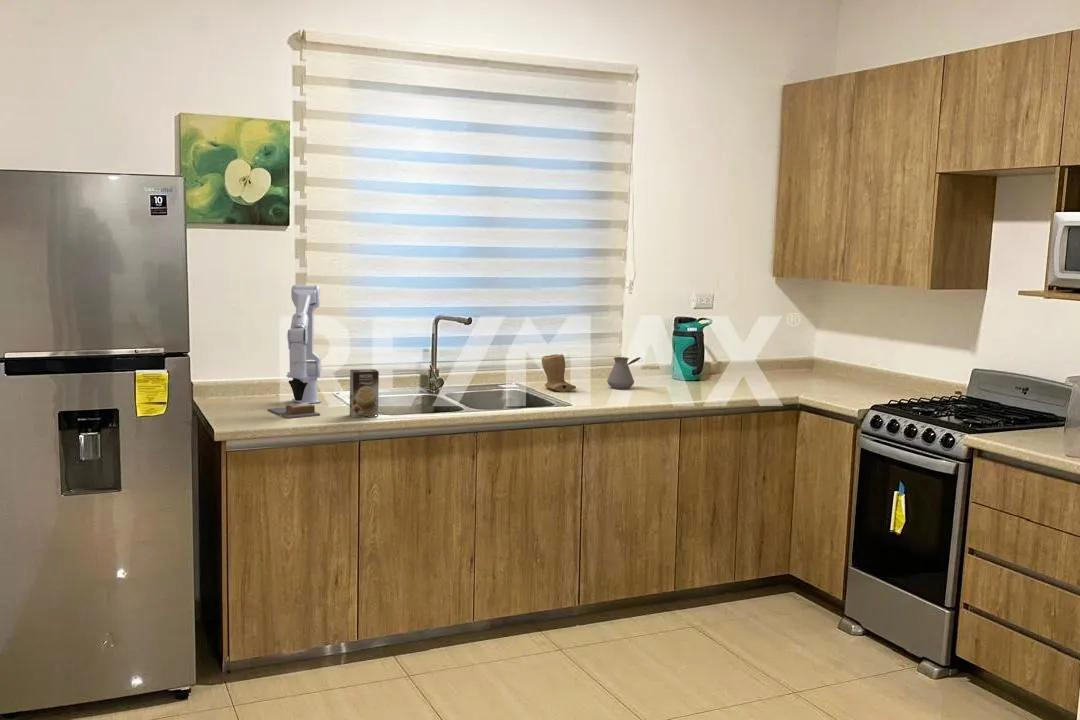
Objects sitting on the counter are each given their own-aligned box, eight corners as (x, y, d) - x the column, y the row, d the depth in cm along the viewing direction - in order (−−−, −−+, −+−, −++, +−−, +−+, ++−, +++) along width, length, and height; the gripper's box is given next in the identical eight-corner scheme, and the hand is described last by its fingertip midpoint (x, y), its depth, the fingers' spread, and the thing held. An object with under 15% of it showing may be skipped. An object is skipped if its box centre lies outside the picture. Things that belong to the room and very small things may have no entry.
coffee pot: (602, 386, 428) (602, 351, 426) (625, 385, 433) (626, 350, 431) (627, 394, 409) (628, 358, 407) (651, 392, 413) (652, 356, 412)
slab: (286, 404, 352) (292, 407, 347) (307, 402, 356) (314, 405, 352) (286, 412, 352) (292, 414, 347) (307, 410, 357) (314, 412, 352)
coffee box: (352, 417, 347) (352, 372, 345) (349, 414, 353) (349, 369, 351) (379, 416, 350) (378, 371, 348) (375, 413, 356) (375, 368, 354)
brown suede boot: (537, 387, 422) (538, 352, 420) (563, 386, 426) (564, 351, 424) (549, 393, 408) (550, 356, 406) (576, 392, 411) (577, 356, 409)
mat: (267, 410, 358) (267, 408, 358) (299, 407, 365) (299, 405, 365) (287, 418, 343) (287, 416, 343) (320, 415, 350) (320, 413, 350)
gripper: (279, 360, 354) (279, 398, 356) (295, 365, 343) (295, 404, 344) (298, 359, 358) (298, 396, 360) (314, 364, 347) (315, 402, 349)
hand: (298, 400), depth 353 cm, fingers closed
